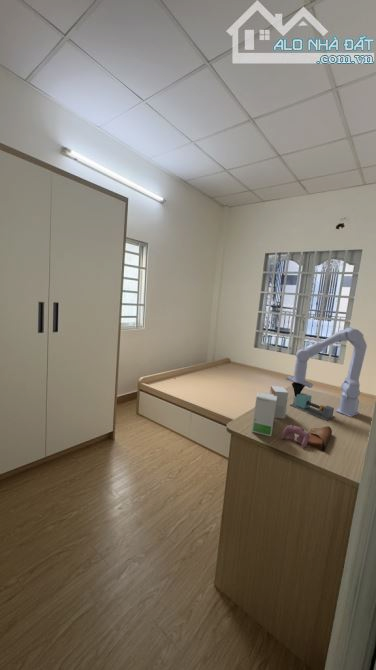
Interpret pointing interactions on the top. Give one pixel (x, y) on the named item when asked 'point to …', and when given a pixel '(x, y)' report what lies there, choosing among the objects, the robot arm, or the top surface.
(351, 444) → the top surface
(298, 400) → the sleeve
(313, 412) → the grey base plate
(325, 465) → the top surface
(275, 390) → the small box
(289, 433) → the pink lumpy irregular piece
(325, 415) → the linear slider
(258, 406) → the skincare box
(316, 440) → the sunglasses case
